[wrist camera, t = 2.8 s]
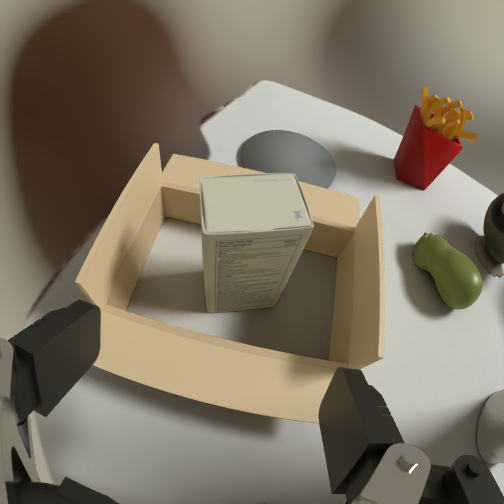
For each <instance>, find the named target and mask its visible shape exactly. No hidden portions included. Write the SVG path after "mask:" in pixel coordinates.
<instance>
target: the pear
mask: <svg viewBox="0 0 504 504" xmlns="http://www.w3.org/2000/svg"><path fill="white" fill-rule="evenodd" d="M413 259H414V261H415V263H416V265H417V267H419V268H420V269H422V270H425V271H428V272H430V273H431V275H432V276H433V278H434V281H435V284H436V287H437V289H438V292H439V294H440V296H441V298H442V299H443V301H444V302H445V303H446V304H447V305H448V306H450V307H451V308H454V309H465V308H467V307H469V306H471V305H472V304H473V303H474V302H475V301H476V300H477V299H478V297H479V295H480V293H481V290H482V277H481V274H480V272H479V270H478V268H477V267H476V265H475V264H474V263H473V262H472V261H471V259H469V258H468V257H467V256H466V255H465V254H463V253H462V252H460V251H458V250H456V249H454V248H452V247H451V246H450V245H449V243H448V242H447V241H446V240H445V239H443V238H442V237H440V236H438V235H435V236H434V235H433V234H432V233H430V234H427V233H424V234H423V236H422V237H421V238H420V239H419V240H418V242H417V243H416V246H415V252H414V253H413Z"/></svg>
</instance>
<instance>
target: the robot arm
mask: <svg viewBox="0 0 504 504" xmlns="http://www.w3.org/2000/svg"><path fill="white" fill-rule="evenodd" d="M100 337H101V310H100V307H99V306H97V305H94V304H91V303H88V302H85V301H83V300H77V301H76V302H74V303H73V304H71V305H70V306H68V307H67V308H62V309H59V310H55V311H51V312H50V313H48V314H47V315H45V316H43V317H42V318H41V319H39V320H37V321H36V322H34V324H31V325H30V326H28V327H27V328H25V329H24V330H22V331H21V332H19V333H18V334H17V335H15V336H14V337H12V338H11V339H9V340H8V341H7V340H5V339H2V338H0V504H119V503H117V502H116V501H114V500H113V499H111V498H110V497H108V496H106V495H103V494H101V493H99V492H96V491H94V490H92V489H90V488H88V487H85V486H83V485H81V484H79V483H77V482H75V481H73V480H71V479H69V478H67V477H65V479H64V480H63V482H62V483H61V485H60V486H58V485H54V484H49V483H41V482H40V479H39V477H38V473H37V470H36V466H35V459H34V451H33V444H32V434H31V421H30V417H29V414H30V413H31V412H32V411H33V410H34V411H36V412H38V413H39V414H41V415H43V416H45V417H47V415H48V414H49V413H50V412H51V411H52V410H53V408H54V407H55V406H56V405H57V404H58V403H59V402H60V400H61V399H62V398H63V397H64V396H65V395H66V394H67V393H68V391H69V390H70V389H71V388H72V387H73V386H74V385H75V384H76V382H77V381H78V380H79V379H80V378H81V377H82V376H83V375H84V374H85V372H86V371H87V370H88V369H89V368H90V367H91V366H92V365H93V364H94V363H95V361H96V360H97V358H98V355H99V352H100ZM386 406H387V405H386V403H385V401H384V399H383V397H382V395H381V394H380V393H379V392H378V391H377V390H376V389H375V388H374V387H373V386H372V385H368V383H367V381H366V379H365V377H364V375H363V373H362V371H361V370H359V369H351V368H344V367H338V368H337V369H336V371H335V373H334V375H333V377H332V380H331V382H330V384H329V386H328V389H327V391H326V393H325V395H324V397H323V399H322V402H321V404H320V408H319V414H318V419H319V425H320V430H321V435H322V441H323V446H324V452H325V457H326V463H327V469H328V474H329V480H330V486H331V492H332V494H346V497H347V500H346V501H345V502H344V503H343V504H504V496H503V494H502V492H501V490H500V488H499V487H498V485H497V483H496V481H495V479H494V477H493V475H492V474H491V472H490V470H489V468H488V467H487V465H486V464H485V463H484V462H483V461H482V460H480V459H479V458H477V457H475V456H471V455H463V456H460V457H459V458H457V460H456V461H455V462H454V463H453V464H452V466H451V467H445V466H439V465H433V464H430V460H429V458H428V457H427V455H426V454H425V453H424V452H423V451H422V450H420V449H419V448H417V447H415V446H413V445H410V444H405V443H404V441H403V439H402V437H401V434H400V432H399V430H398V428H397V426H396V424H395V422H394V420H393V417H392V416H390V414H391V413H390V411H389V409H388V407H386ZM477 444H478V449H479V453H480V455H481V457H482V458H483V459H484V461H485V462H487V463H489V464H498V463H504V389H503V390H500V391H498V392H495V393H494V394H493V395H491V396H490V398H489V399H488V400H487V401H486V403H485V405H484V407H483V409H482V412H481V414H480V418H479V422H478V429H477Z"/></svg>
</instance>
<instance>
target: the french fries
mask: <svg viewBox="0 0 504 504" xmlns="http://www.w3.org/2000/svg"><path fill="white" fill-rule="evenodd" d="M428 95H429V93H428V88H425V87H423V88H422V105H421V107H418V106H416V105H415V107H414V110H413V113H412V115H411V118H410V121H409V123H408V126H407V128H406V131H405V134H404V136H403V139H402V141H401V144H400V146H399V148H398V151H397V153H396V156H395V158H394V162H395V169H396V176H397V179H398V180H400V181H403V182H405V183H408V184H410V185H412V186H415V187H417V188H420V189H422V190H425V189H426V188H427V187H428V186H429V185H430V184H431V183H432V182H433V181H434V179H435V178H436V177H437V176H438V175H439V174H440V173H441V172H442V171H443V170H444V169H445V167H446V166H447V165H448V164H449V163H450V162H451V161H452V160H453V158H454V157H455V156H456V155H457V154H458V153H459V152H460V151H461V149H462V148H463V147H462V144H461V142H460V140H459V138H465V139H469V140H473V141H476V140H477V134H474V133H470V132H466V131H462V130H463V128H464V126H465V122H466V120H473V116H472V112H471V111H467V110H466V109H465V108H464V107H461V106H462V103H461V101H460V100H458V101H454V102H452V103H449V102H450V99H449V97H445V98H442V99H440V100H439V99H438V97H437V96H436V95H435V94H434V95H433V96H432V97H431V98H430V99H429V100H428V97H429V96H428ZM447 103H449V104H447ZM444 104H447V105H445V106H444V107H443V108H442V106H441V105H444ZM457 107H460V110H456V111H455V110H454V108H457ZM433 111H434V114H433ZM447 111H449V112H448V113H447V114H446V116H445V117H442V116H443V115H444V114H445V113H446V112H447ZM454 117H455V118H454ZM453 118H454V119H453ZM458 137H459V138H458Z"/></svg>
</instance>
